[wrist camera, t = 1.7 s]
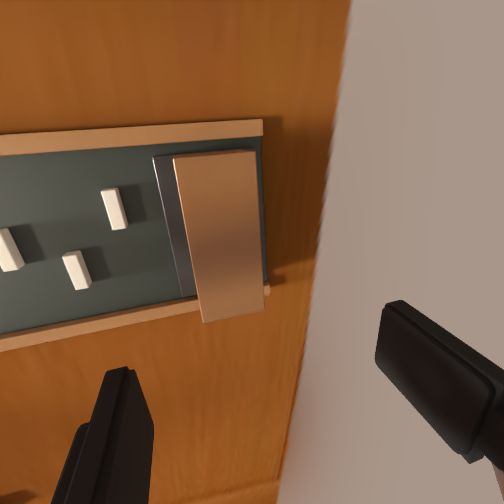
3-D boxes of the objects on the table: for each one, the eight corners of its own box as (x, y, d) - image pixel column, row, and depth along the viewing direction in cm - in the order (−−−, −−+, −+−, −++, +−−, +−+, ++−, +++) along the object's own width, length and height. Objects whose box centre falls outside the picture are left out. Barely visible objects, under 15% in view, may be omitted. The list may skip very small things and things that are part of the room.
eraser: (153, 155, 19) (144, 160, 14) (255, 147, 21) (279, 149, 16) (182, 290, 24) (183, 328, 19) (262, 275, 26) (282, 306, 21)
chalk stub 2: (66, 252, 20) (61, 257, 19) (80, 250, 21) (75, 254, 20) (79, 284, 22) (75, 290, 21) (92, 282, 22) (89, 288, 21)
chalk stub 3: (103, 188, 19) (100, 191, 18) (118, 187, 20) (115, 189, 19) (115, 226, 21) (112, 230, 20) (128, 224, 21) (126, 228, 20)
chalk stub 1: (-8, 229, 18) (-18, 234, 18) (8, 227, 19) (-1, 231, 18) (11, 266, 20) (3, 272, 19) (25, 264, 20) (18, 269, 19)
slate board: (-160, 146, 15) (-187, 146, 14) (258, 119, 21) (262, 118, 20) (-23, 348, 22) (-34, 359, 21) (267, 288, 27) (270, 294, 26)
